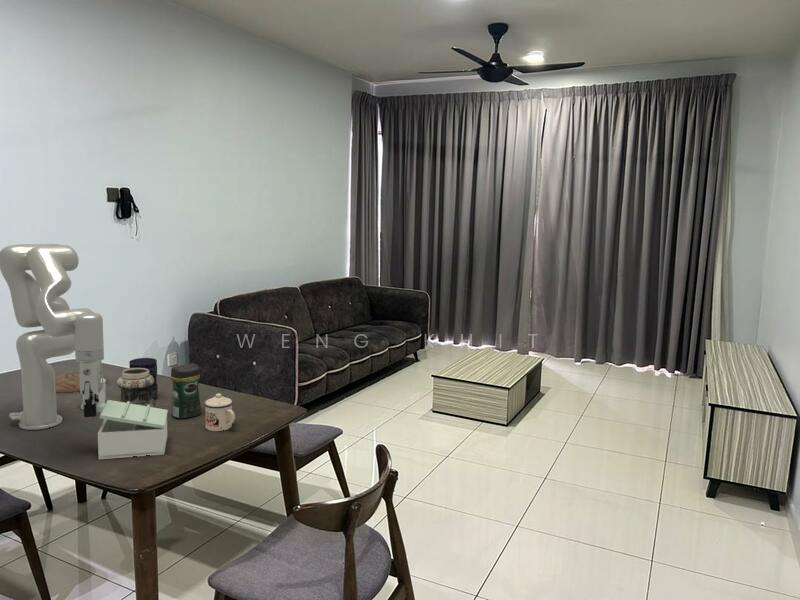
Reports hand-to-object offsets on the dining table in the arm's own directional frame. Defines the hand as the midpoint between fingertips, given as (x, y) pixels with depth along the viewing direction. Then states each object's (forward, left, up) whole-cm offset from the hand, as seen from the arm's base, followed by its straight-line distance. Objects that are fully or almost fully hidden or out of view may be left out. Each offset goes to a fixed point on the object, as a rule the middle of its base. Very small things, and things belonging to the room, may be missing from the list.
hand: (91, 413), depth 182 cm
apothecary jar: (+10, +24, -12) cm, 29 cm away
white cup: (-6, +41, -12) cm, 43 cm away
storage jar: (+10, +48, -12) cm, 50 cm away
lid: (+9, 0, -1) cm, 9 cm away
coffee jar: (+26, +27, -12) cm, 39 cm away
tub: (+12, 0, -12) cm, 17 cm away
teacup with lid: (+38, +12, -12) cm, 41 cm away
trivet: (-19, +72, -12) cm, 76 cm away
